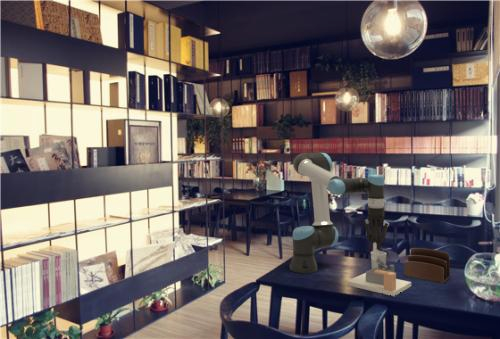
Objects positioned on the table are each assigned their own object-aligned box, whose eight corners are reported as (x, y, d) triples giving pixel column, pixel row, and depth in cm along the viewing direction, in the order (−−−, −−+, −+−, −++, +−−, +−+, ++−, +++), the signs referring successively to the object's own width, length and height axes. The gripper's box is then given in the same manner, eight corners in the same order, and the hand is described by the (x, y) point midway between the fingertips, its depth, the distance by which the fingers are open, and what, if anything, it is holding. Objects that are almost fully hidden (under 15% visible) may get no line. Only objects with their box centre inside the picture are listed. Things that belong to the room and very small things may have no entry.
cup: (387, 277, 222) (387, 254, 221) (371, 277, 223) (371, 254, 223) (385, 273, 229) (385, 251, 229) (370, 272, 231) (370, 250, 230)
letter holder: (411, 271, 233) (411, 246, 232) (449, 278, 220) (450, 251, 219) (403, 276, 225) (404, 249, 224) (443, 283, 212) (444, 255, 211)
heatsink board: (347, 285, 211) (347, 267, 210) (365, 276, 225) (366, 259, 224) (394, 296, 194) (394, 276, 194) (411, 286, 208) (411, 267, 208)
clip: (373, 287, 201) (373, 271, 201) (377, 285, 204) (377, 269, 204) (392, 291, 195) (392, 274, 195) (395, 289, 198) (396, 272, 198)
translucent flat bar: (370, 257, 206) (370, 255, 206) (382, 268, 216) (383, 265, 216) (377, 259, 203) (377, 256, 204) (389, 269, 214) (390, 267, 214)
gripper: (359, 206, 207) (359, 255, 208) (385, 209, 198) (385, 259, 199) (367, 205, 212) (367, 252, 213) (392, 207, 203) (392, 256, 204)
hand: (376, 256), depth 206 cm, fingers closed
